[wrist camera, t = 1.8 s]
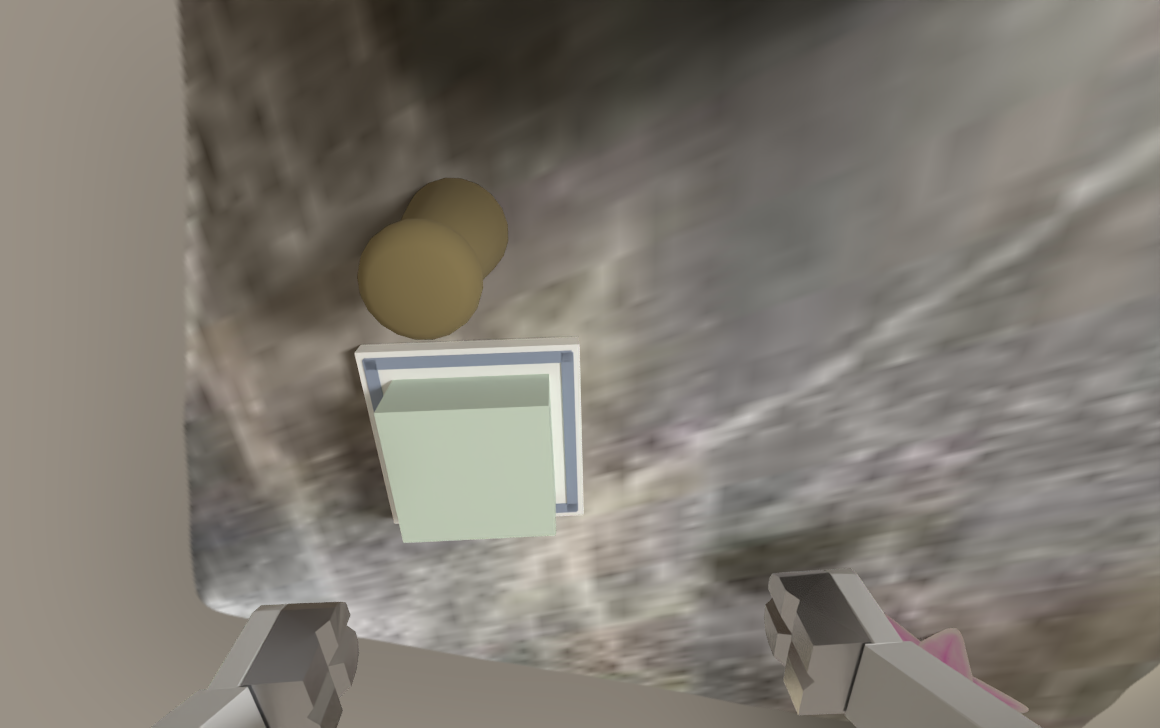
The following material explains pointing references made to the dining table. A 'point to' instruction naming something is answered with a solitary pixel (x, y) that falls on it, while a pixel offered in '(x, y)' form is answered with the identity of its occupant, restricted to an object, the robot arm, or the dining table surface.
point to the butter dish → (477, 435)
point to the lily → (954, 657)
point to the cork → (433, 260)
